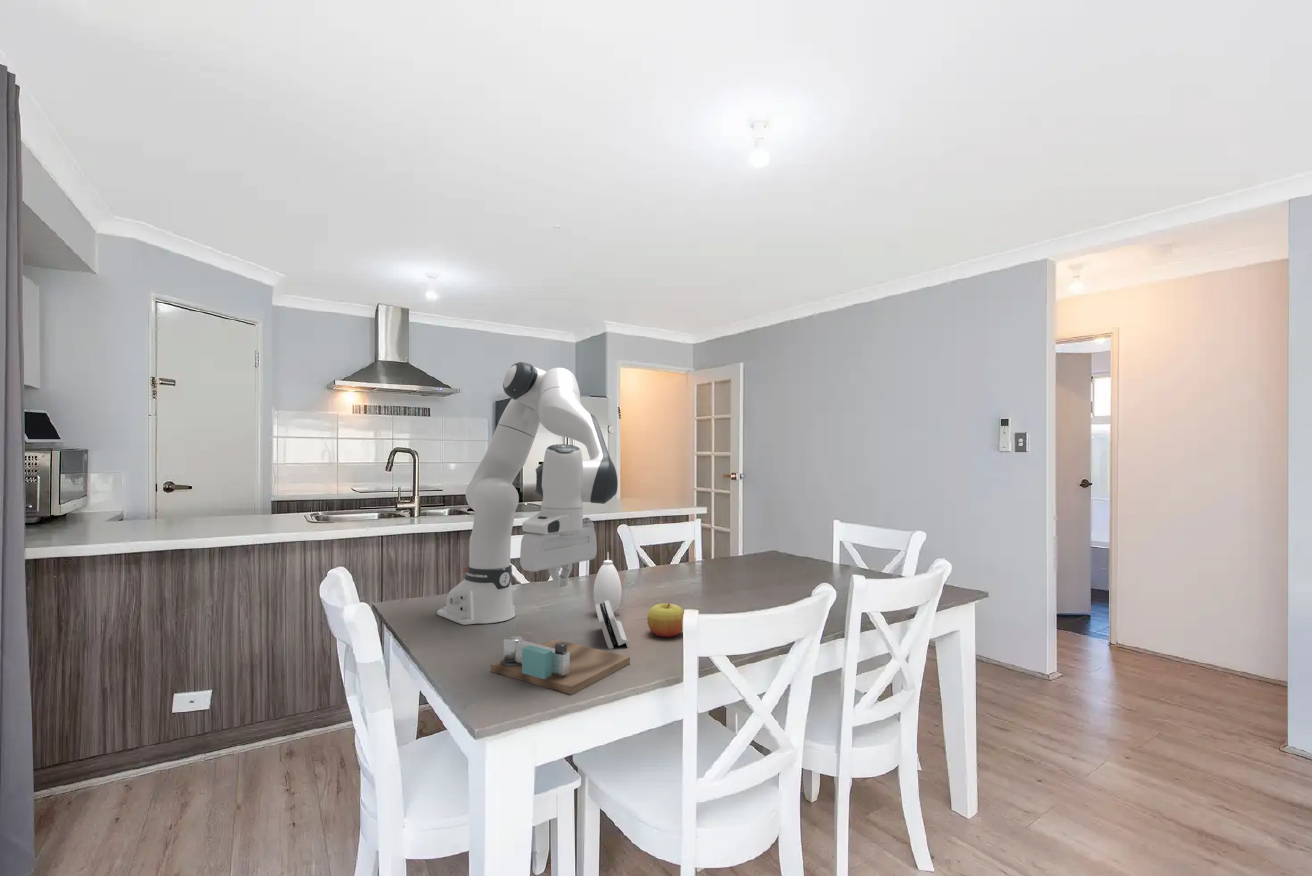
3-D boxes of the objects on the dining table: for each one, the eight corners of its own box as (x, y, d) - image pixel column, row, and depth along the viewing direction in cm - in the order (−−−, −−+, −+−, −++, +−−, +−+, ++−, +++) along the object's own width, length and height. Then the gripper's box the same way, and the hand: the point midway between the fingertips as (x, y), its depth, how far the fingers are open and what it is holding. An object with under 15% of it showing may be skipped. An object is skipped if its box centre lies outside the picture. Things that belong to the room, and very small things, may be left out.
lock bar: (499, 659, 129) (499, 633, 129) (513, 654, 132) (513, 628, 132) (559, 676, 120) (559, 648, 120) (572, 670, 123) (573, 643, 123)
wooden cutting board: (490, 671, 128) (490, 662, 128) (553, 645, 145) (553, 637, 145) (571, 694, 116) (571, 685, 116) (629, 663, 133) (629, 655, 134)
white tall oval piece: (588, 613, 173) (589, 550, 173) (611, 609, 177) (612, 548, 178) (602, 620, 166) (603, 554, 167) (626, 616, 171) (627, 552, 171)
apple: (683, 641, 149) (684, 609, 149) (644, 639, 150) (644, 607, 151) (686, 629, 159) (686, 599, 159) (649, 627, 160) (650, 597, 160)
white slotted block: (629, 648, 144) (616, 608, 143) (610, 655, 143) (597, 616, 143) (623, 627, 160) (610, 592, 160) (606, 634, 160) (593, 598, 159)
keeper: (521, 672, 123) (522, 648, 123) (529, 669, 125) (529, 645, 125) (544, 679, 120) (544, 653, 120) (551, 675, 122) (552, 650, 122)
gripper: (582, 515, 139) (581, 576, 139) (515, 523, 122) (514, 592, 122) (604, 518, 136) (602, 579, 135) (538, 526, 119) (536, 597, 118)
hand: (560, 586), depth 128 cm, fingers closed
